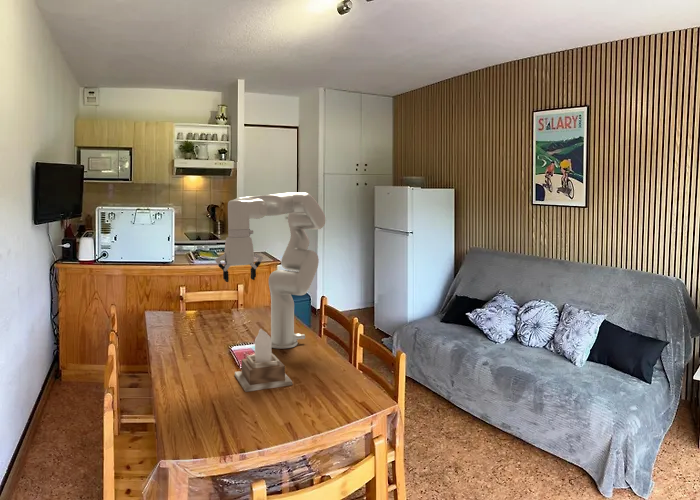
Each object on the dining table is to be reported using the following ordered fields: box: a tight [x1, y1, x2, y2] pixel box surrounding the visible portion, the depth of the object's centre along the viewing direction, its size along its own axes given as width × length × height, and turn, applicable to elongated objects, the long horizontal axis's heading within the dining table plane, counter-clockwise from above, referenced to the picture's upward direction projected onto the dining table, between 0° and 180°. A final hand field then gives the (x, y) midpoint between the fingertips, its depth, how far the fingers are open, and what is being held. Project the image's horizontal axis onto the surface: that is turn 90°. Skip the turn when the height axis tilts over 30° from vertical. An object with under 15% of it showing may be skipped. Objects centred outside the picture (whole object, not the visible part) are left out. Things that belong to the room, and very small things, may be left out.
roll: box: [254, 328, 273, 363], centre depth 181 cm, size 6×12×6 cm
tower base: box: [234, 352, 293, 393], centre depth 182 cm, size 16×16×8 cm
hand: (239, 280), depth 194 cm, fingers open, 9 cm apart
